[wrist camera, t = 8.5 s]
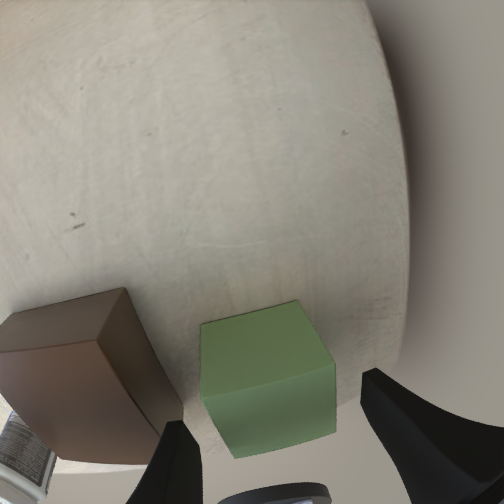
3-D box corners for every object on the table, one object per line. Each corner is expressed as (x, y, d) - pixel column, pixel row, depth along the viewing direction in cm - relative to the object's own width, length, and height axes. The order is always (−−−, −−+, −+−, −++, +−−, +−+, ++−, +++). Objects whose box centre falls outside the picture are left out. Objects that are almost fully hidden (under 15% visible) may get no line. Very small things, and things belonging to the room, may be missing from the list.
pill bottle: (4, 399, 13) (-33, 476, 5) (46, 411, 13) (13, 502, 6) (30, 436, 14) (6, 508, 7) (72, 447, 15) (53, 529, 7)
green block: (307, 369, 15) (336, 432, 10) (225, 390, 14) (234, 459, 10) (298, 299, 13) (336, 363, 9) (200, 324, 13) (199, 398, 8)
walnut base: (184, 406, 14) (183, 463, 11) (76, 414, 14) (61, 459, 10) (125, 286, 12) (96, 339, 8) (10, 314, 11) (-27, 355, 7)
